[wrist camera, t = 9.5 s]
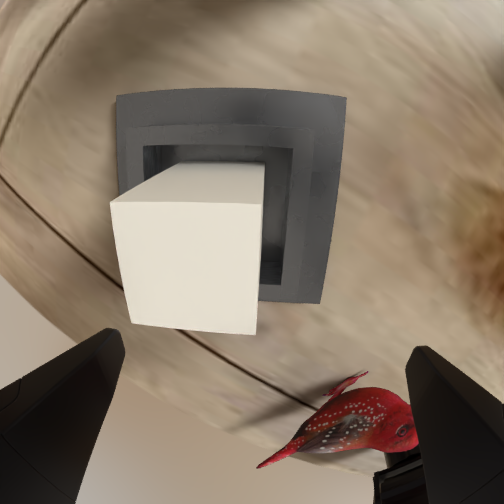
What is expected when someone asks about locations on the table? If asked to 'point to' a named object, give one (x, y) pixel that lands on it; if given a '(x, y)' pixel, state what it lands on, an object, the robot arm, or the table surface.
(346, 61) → the table surface
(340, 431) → the decorative bird figurine
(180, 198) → the square peg
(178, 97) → the square socket
